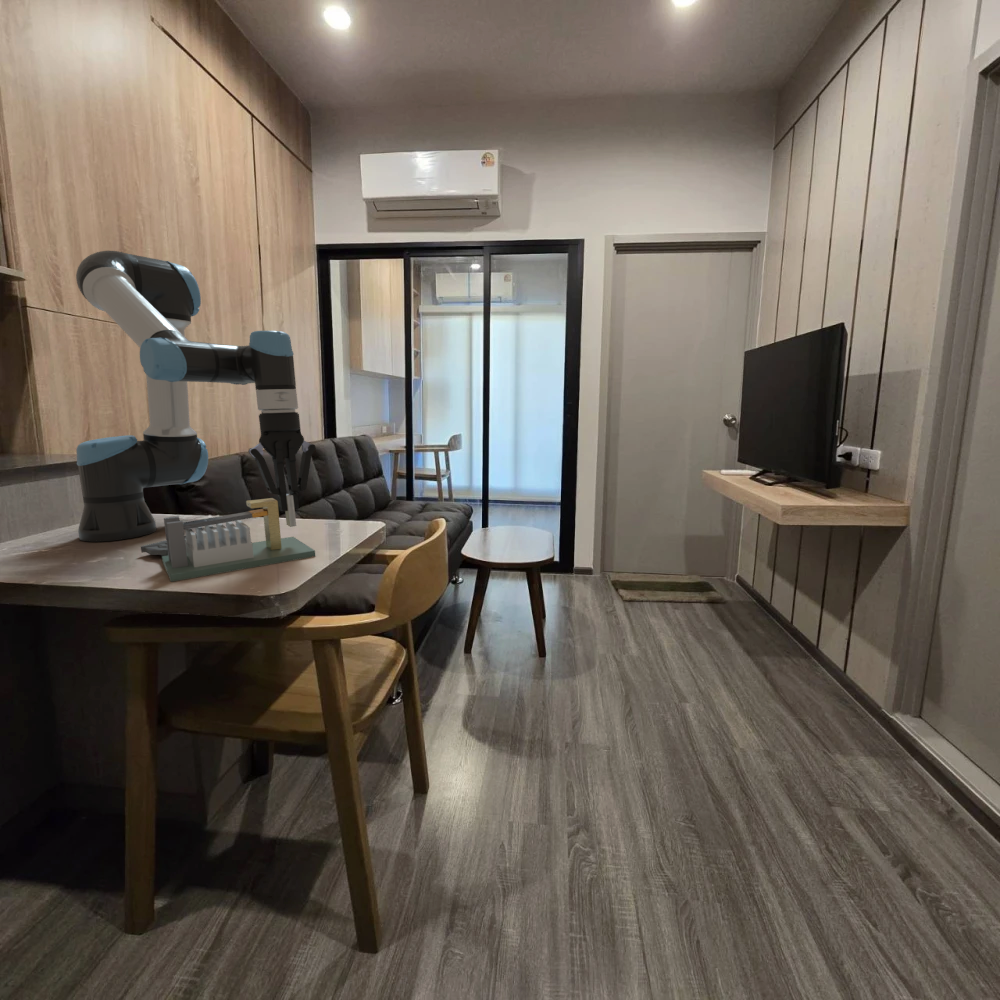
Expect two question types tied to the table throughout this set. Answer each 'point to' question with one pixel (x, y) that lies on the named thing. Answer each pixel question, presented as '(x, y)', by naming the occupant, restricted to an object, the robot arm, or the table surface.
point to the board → (258, 560)
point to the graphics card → (159, 547)
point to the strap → (224, 519)
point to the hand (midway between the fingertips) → (291, 525)
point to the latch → (269, 521)
